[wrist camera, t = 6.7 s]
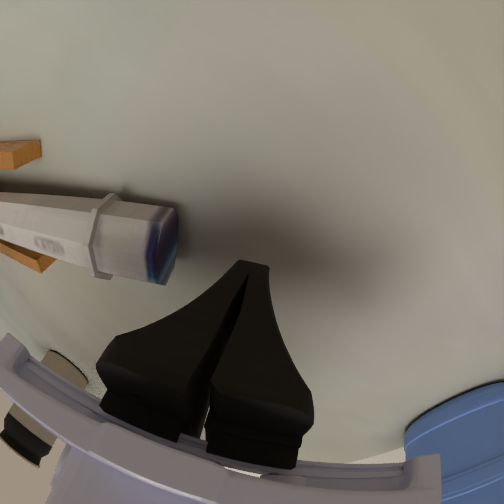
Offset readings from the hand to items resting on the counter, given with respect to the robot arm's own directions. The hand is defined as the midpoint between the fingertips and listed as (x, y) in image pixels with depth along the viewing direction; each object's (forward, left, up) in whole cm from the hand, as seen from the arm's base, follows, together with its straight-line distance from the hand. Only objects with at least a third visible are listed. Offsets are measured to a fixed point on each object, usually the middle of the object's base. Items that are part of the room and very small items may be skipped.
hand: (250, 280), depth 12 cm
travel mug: (-29, +26, -3) cm, 39 cm away
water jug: (-16, -27, -3) cm, 32 cm away
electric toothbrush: (0, +17, -3) cm, 17 cm away
